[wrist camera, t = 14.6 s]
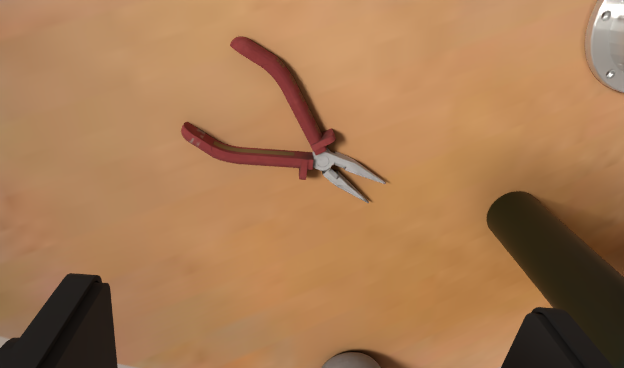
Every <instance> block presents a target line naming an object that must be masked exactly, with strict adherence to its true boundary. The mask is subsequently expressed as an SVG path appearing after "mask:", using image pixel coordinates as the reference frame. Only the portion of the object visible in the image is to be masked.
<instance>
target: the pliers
mask: <svg viewBox="0 0 624 368" xmlns="http://www.w3.org/2000/svg"><path fill="white" fill-rule="evenodd" d="M230 46H231V47H232V48H233V49H234V50H236V51H237V52H239V53H240V54H242V55H243V56H245V57H246V58H248V59H250V60H251V61H253V62H254V63H256V64H258V65H259V66H261V67H262V68H263V69H265V70H266V71H267V72H268V73H269V74H270V75H271V76H272V77H273V78H274V79H275V81H276V82H277V83H278V85H279V86H280V88H281V90H282V91H283V93H284V95H285V97H286V99H287V101H288V103H289V105H290V107H291V109H292V111H293V113H294V115H295V117H296V118H297V120H298V122H299V124H300V126H301V128H302V130H303V132H304V134H305V136H306V138H307V140H308V142H309V143H310V145H311V148H312V150H313V153H312V152H300V151H286V150H272V149H258V148H244V147H236V146H231V145H227V144H224V143H222V142H220V141H218V140H216V139H214V138H212V137H211V136H209V135H208V134H206V133H204V132H203V131H201V130H200V129H198V128H196V127H195V126H193V125H192V124H190V123H188V122H185V123H184V125H183V126H182V129H181V132H182V135H183V137H184V138H185V139H186V140H187V141H188V142H190V143H191V144H193V145H194V146H196V147H198V148H199V149H201V150H202V151H204V152H205V153H207V154H209V155H210V156H212V157H213V158H216V159H219V160H222V161H226V162H230V163H236V164H248V165H263V166H278V167H293V168H299V179H301V180H306V175H307V170H312V169H313V168H315V169H318V170H321V171H322V174H323V175H324V176H325V177H326V178H327V179H328V180H329V181H330V182H332V183H333V184H334V185H336V186H337V187H339V188H341V189H343V190H345V191H346V192H348V193H350V194H352V195H354V196H356V197H358V198H359V199H361V200H363V201H365V202H367V203H369V202H368V200H367V199H366V198H365V197H364V196H363V195H362V194H361V193H360V192H359V191H358V190H357V189H356V188H355V187H354V186H353V185H352V184H351V183H350V182H349V181H348V180H347V179H346V178H345V177H344V176H343V175H342V174H340V173H339V172H338V171H336V172H334V171H333V170H332V169H331V168H330V167H331V166H332V165H337V166H339V167H342V168H344V169H345V170H346V171H349V172H351V173H354V174H356V175H359V176H362V177H365V178H368V179H371V180H374V181H377V182H380V183H383V184H386V182H385V181H383V180H382V179H380V178H379V177H378V176H376V175H375V174H373V173H372V172H371V171H369V170H368V169H366V168H365V167H364V166H362V165H361V164H359V163H358V162H357V161H355V160H354V159H352V158H350V157H348V156H346V155H344V154H341V153H339V152H337V151H335V152H334V153H333V152H330V150H329V149H328V148H327V146H326V145H329V144H331V143H332V142H334V141H335V140H336V137H335V134H334V132H333V130H332V129H329V130H327V131H325V132H323V133H321V132H320V130H319V128H318V126H317V124H316V122H315V120H314V118H313V116H312V114H311V112H310V110H309V108H308V106H307V104H306V102H305V100H304V98H303V96H302V94H301V92H300V90H299V88H298V86H297V84H296V82H295V80H294V78H293V76H292V75H291V73H290V72H289V70H288V69H287V67H286V66H285V65H284V63H283V62H282V61H281V60H280V59H279V58H278V57H277V56H275V55H274V54H272V53H270V52H269V51H267V50H266V49H264V48H262V47H261V46H259V45H258V44H256V43H254V42H253V41H251V40H250V39H248V38H246V37H236V38H235V39H233V40H232V42H231V44H230Z"/></svg>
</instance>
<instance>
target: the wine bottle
mask: <svg viewBox="0 0 624 368" xmlns="http://www.w3.org/2000/svg"><path fill="white" fill-rule="evenodd" d="M487 224H488V227H489V228H490V230H491V231H492V232H493V233H494V235H495V236H496V237H497V238H498V240H499V241H500V242H501V243H502V245H503V246H504V247H505V248H506V250H507V251H508V252H509V253H510V255H511V256H512V257H513V258H514V260H515V261H516V262H517V263H518V265H519V266H520V267H521V268H522V269H523V271H524V272H525V273H526V274H527V276H528V277H529V278H530V279H531V281H532V282H533V283H534V284H535V286H536V287H537V288H538V289H539V291H540V292H541V293H542V294H543V296H544V297H545V298H546V299H547V301H548V302H549V303H550V304H551V306H552V307H553V308H556V309H563V310H565V311H566V312H567V313H568V314H569V315H570V316H571V317H572V318H573V319H574V321H575V322H576V323H577V324H578V325H579V327H580V328H581V329H582V330H583V331H584V333H585V334H586V335H587V336H588V337H589V338H590V340H591V341H592V342H593V343H594V344H595V346H596V347H597V348H598V349H599V350H600V352H601V353H602V354H603V355H604V356H605V358H606V359H607V360H608V361H609V362H610V364H611V365H612V366H613V367H614V368H624V277H623V276H621V275H620V274H619V273H618V272H617V271H616V270H615V269H614V268H613V267H611V266H610V265H609V264H608V263H607V262H606V261H605V260H604V259H602V258H601V257H600V256H599V255H598V254H597V253H596V252H595V251H594V250H592V249H591V248H590V247H589V246H588V245H587V244H586V243H585V242H583V241H582V240H581V239H580V238H579V237H578V236H577V235H576V234H574V233H573V232H572V231H571V230H570V229H569V228H568V227H567V226H566V225H564V224H563V223H562V222H561V221H560V220H559V219H558V218H557V217H555V216H554V215H553V214H552V213H551V212H550V211H549V210H548V209H547V208H545V207H544V206H543V205H542V204H541V203H540V202H539V201H538V200H536V199H535V198H534V197H533V196H532V195H530V194H528V193H526V192H511V193H508V194H505V195H503V196H501V197H500V198H498V199H497V200H496V201H495V202H494V203H493V204H492V206H491V207H490V209H489V211H488V214H487Z"/></svg>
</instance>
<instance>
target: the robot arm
mask: <svg viewBox="0 0 624 368" xmlns="http://www.w3.org/2000/svg"><path fill="white" fill-rule="evenodd" d="M585 52H586V59H587V62H588V65H589V68H590V69H591V71H592V73H593V74H594V76H595V77H596V78H597V79H598V80H599V81H600V82H601V83H602V84H604V85H605V86H607V87H609V88H611V89H613V90H617V91H620V92H622V93H624V0H598V1H597V3H596V5H595V7H594V9H593V11H592V14H591V16H590V19H589V22H588V26H587V30H586V37H585ZM0 368H117V357H116V347H115V336H114V325H113V315H112V304H111V293H110V286H109V284H108V283H102V280H101V278H100V276H98V275H86V274H72V273H70V274H68V275H67V276H66V277H65V278H64V279H63V280H62V282H61V283H60V284H59V286H58V287H57V288H56V290H55V291H54V292H53V294H52V295H51V296H50V298H49V299H48V300H47V302H46V303H45V305H44V306H43V307H42V309H41V310H40V311H39V313H38V314H37V315H36V317H35V318H34V319H33V321H32V322H31V323H30V325H29V326H28V328H27V329H26V330H25V332H24V333H23V334H22V336H21V337H20V338H12V339H10V340H8V341H7V342H6V343H5V344H4V345H3V346H2V347H1V348H0ZM501 368H614V367H613V366H612V365H611V364H610V362H609V361H608V360H607V359H606V358H605V356H604V355H603V354H602V353H601V352H600V350H599V349H598V348H597V347H596V346H595V344H594V343H593V342H592V341H591V340H590V338H589V337H588V336H587V335H586V334H585V333H584V331H583V330H582V329H581V328H580V327H579V325H578V324H577V323H576V322H575V321H574V319H573V318H572V317H571V316H570V315H569V314H568V313H567V312H566V311H565V310H563V309H556V308H542V307H538V308H535V309H533V311H532V312H531V313H529V314H527V315H526V317H525V318H524V320H523V323H522V325H521V327H520V329H519V331H518V333H517V335H516V337H515V339H514V341H513V344H512V346H511V348H510V350H509V352H508V354H507V356H506V358H505V360H504V362H503V365H502V367H501Z"/></svg>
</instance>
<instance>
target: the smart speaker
mask: <svg viewBox="0 0 624 368" xmlns="http://www.w3.org/2000/svg"><path fill="white" fill-rule="evenodd" d="M322 368H381V367H380V366H379V364H378V363H377V362H376V361H375V360H374V359H373V358H371V357H370V356H368V355H365V354H362V353H357V352H347V353H342V354H339V355H336V356H334V357H332V358H331V359H329V360H328V361H327V362H326V363H325V364H324V365H323V367H322Z"/></svg>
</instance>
